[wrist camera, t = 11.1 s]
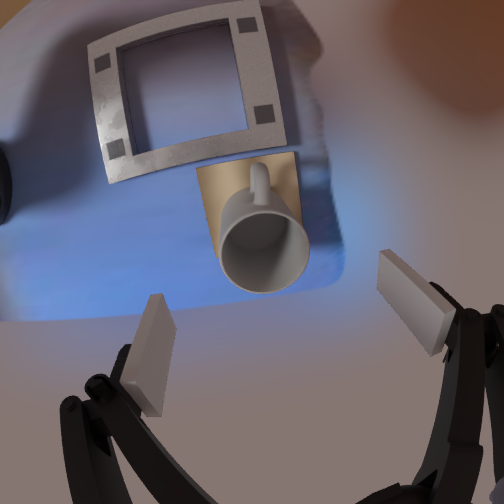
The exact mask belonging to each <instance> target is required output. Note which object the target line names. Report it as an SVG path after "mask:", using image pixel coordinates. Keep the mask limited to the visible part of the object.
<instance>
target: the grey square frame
mask: <svg viewBox="0 0 504 504" xmlns="http://www.w3.org/2000/svg"><path fill="white" fill-rule="evenodd" d="M222 24H228V25H229V30H230V35H231V40H232V45H233V50H234V55H235V61H236V66H237V71H238V77H239V82H240V88H241V93H242V99H243V104H244V110H245V115H246V121H247V127H248V130H241V131H236V132H230V133H225V134H219V135H214V136H209V137H205V138H200V139H196V140H191V141H187V142H183V143H179V144H175V145H171V146H167V147H163V148H159V149H156V150H152V151H149V152H145V153H142V154H138V153H137V148H136V143H135V138H134V133H133V128H132V123H131V117H130V111H129V106H128V99H127V93H126V86H125V79H124V72H123V63H122V54H121V51H124V50H127V49H129V48H132V47H135V46H138V45H141V44H144V43H147V42H150V41H153V40H156V39H160V38H163V37H167V36H170V35H174V34H178V33H182V32H186V31H191V30H195V29H200V28H205V27H211V26H216V25H222ZM87 48H88V63H89V74H90V83H91V92H92V99H93V106H94V113H95V119H96V125H97V131H98V136H99V141H100V146H101V151H102V155H103V160H104V164H105V169H106V173H107V177H108V181H109V184H112V183H115V182H118V181H122V180H125V179H128V178H132V177H135V176H139V175H142V174H146V173H149V172H153V171H157V170H161V169H164V168H168V167H172V166H177V165H181V164H185V163H189V162H194V161H198V160H203V159H208V158H212V157H217V156H222V155H228V154H233V153H239V152H244V151H250V150H256V149H263V148H270V147H277V146H284V145H287V142H286V136H285V130H284V123H283V117H282V111H281V106H280V100H279V94H278V89H277V83H276V78H275V73H274V68H273V63H272V58H271V53H270V48H269V43H268V39H267V34H266V29H265V25H264V21H263V16H262V12H261V8H260V4H259V0H244V1H235V2H227V3H220V4H214V5H208V6H203V7H198V8H193V9H188V10H184V11H180V12H176V13H172V14H168V15H164V16H161V17H157V18H154V19H151V20H148V21H145V22H142V23H139V24H136V25H133V26H130V27H127V28H125V29H122V30H120V31H117V32H115V33H112V34H110V35H107V36H105V37H103V38H101V39H98V40H96V41H94V42H92V43H90V44H88V45H87Z"/></svg>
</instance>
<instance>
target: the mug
mask: <svg viewBox="0 0 504 504" xmlns="http://www.w3.org/2000/svg"><path fill="white" fill-rule="evenodd" d="M309 255H310V244H309V239H308V236H307V234H306V231H305V229H304V228H303V226H302V225H301V223H300V222H299V221H298V219H297V218H296V217H295V215H294V214H293V213H292V212H291V210H290V209H289V208H288V206H287V205H286V204H285V202H284V201H283V199H282V198H281V197H280V196H279V195H278V194H277V193H275V192H274V191H272V190H270V175H269V170H268V167H267V166H266V165H265V164H264V163H262V162H255V163H253V164H252V165H251V169H250V187H247V188H244V189H241V190H239V191H237V192H236V193H234V194H233V195H232V196H231V197H230V198H229V199H228V200H227V202H226V203H225V205H224V207H223V210H222V214H221V227H220V238H219V262H220V265H221V268H222V270H223V272H224V274H225V275H226V277H227V278H228V279H229V280H230V281H231V282H232V283H233V284H234V285H236V286H237V287H238V288H240V289H242V290H245V291H248V292H251V293H257V294H267V293H273V292H277V291H280V290H282V289H284V288H286V287H288V286H290V285H291V284H292V283H294V282H295V281H296V280H297V279H298V278H299V277H300V276H301V274H302V273H303V271H304V270H305V268H306V266H307V263H308V260H309Z"/></svg>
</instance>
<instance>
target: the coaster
mask: <svg viewBox="0 0 504 504" xmlns="http://www.w3.org/2000/svg"><path fill="white" fill-rule="evenodd" d="M255 162H262V163H264V164H265V165H266V166H267V167H268V170H269V175H270V190H272V191H274V192H275V193H277V194H278V195H279V196H280V197H281V198H282V199H283V201H284V202H285V204H286V205H287V206H288V208H289V209H290V210H291V212H292V213H293V214H294V215H295V217H296V218H297V219H298V221H299V222H300V223H301V225H302V226H303V222H302V213H301V204H300V196H299V187H298V179H297V172H296V164H295V157H294V152H293V151H292V152H284V153H277V154H270V155H263V156H257V157H251V158H245V159H239V160H234V161H229V162H223V163H218V164H213V165H208V166H204V167H199V168H196V172H197V176H198V181H199V186H200V190H201V195H202V200H203V204H204V209H205V213H206V217H207V222H208V226H209V230H210V235H211V239H212V243H213V247H214V252H215V256H216V257H219V238H220V227H221V214H222V210H223V207H224V205H225V203H226V202H227V200H228V199H229V198H230V197H231V196H232V195H233V194H234V193H236V192H237V191H239V190H241V189H244V188H247V187H250V169H251V165H252V164H253V163H255Z"/></svg>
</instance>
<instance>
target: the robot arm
mask: <svg viewBox="0 0 504 504" xmlns="http://www.w3.org/2000/svg"><path fill="white" fill-rule="evenodd" d="M11 194H12V184H11V175H10V170H9V166H8V162H7V160H6V157H5V155H4V154H3V152H2V150H1V149H0V224H1V223H2V222H3V221H4V220H5V218H6V216H7V214H8V211H9V208H10V203H11ZM377 290H378V291H379V292H380V293H381V295H382V296H383V297H384V298H385V299H386V301H387V302H388V303H389V304H390V305H391V307H392V308H393V309H394V310H395V312H396V313H397V314H398V315H399V316H400V318H401V319H402V320H403V322H404V323H405V324H406V325H407V327H408V328H409V329H410V330H411V332H412V333H413V334H414V336H415V337H416V338H417V339H418V341H419V342H420V343H421V345H422V346H423V347H424V349H425V350H426V352H427V353H428V354H429V356H430V357H431V356H433V355H435V354H438V353H440V352H441V351H442V349H443V346H444V344H446V345H447V346H448V350H447V352H446V354H445V357H444V359H443V363H444V362H445V369H444V376H443V383H442V389H441V395H440V400H439V405H438V409H437V414H436V418H435V422H434V427H433V430H432V434H431V438H430V441H429V445H428V448H427V451H426V454H425V457H424V460H423V463H422V466H421V468H420V470H419V471H418V473H417V474H416V476H415V478H414V480H413V482H412V485H403V486H400V484H399V483H396V484H394V485H392V486H389V487H387V488H385V489H382V490H379V491H377V492H375V493H372V494H371V495H369V496H367V497H366V498H364V499H363V500H361V501H359V502H357V503H356V504H472V503H471V500H472V497H473V493H474V490H475V486H476V483H477V479H478V475H479V471H480V467H481V462H482V457H483V446H481V445H479V438H480V432H481V424H482V416H483V406H484V391H485V387H486V393H487V399H488V405H489V412H490V419H491V428H492V439H493V462H494V474H495V482H496V485H495V488H494V490H493V491H492V492H491V494H490V497H489V499H490V501H491V502H493V503H492V504H504V305H500V304H496V305H494V306H493V307H492V309H491V312H490V313H487V314H480V313H479V312H478V311H477V310H475V309H472V308H466V309H464V308H463V307H462V306H461V305H460V304H459V303H458V302H457V301H456V300H455V299H454V298H453V297H452V296H449V294H448V293H447V292H445V290H444V289H443V288H442V287H441V286H439V285H437V284H436V283H433V282H429V283H428V282H427V281H426V280H425V279H424V278H423V277H421V276H420V275H419V274H418V273H417V272H416V271H415V270H413V269H412V268H411V267H410V266H409V265H408V264H407V263H405V262H404V261H403V260H402V259H401V258H399V257H398V256H397V255H396V254H395V253H394V252H393V251H391V250H390V249H387V250H383V251H379V266H378V280H377ZM176 330H177V329H176V326H175V324H174V322H173V319H172V316H171V314H170V311H169V309H168V306H167V304H166V301H165V299H164V296H163V293H160V294H153V295H150V298H149V300H148V303H147V305H146V308H145V310H144V313H143V316H142V318H141V321H140V324H139V326H138V329H137V332H136V334H135V337H134V340H133V343H132V344H125V345H124V346H123V348H122V349H121V350H120V351H119V353H118V356H117V360H116V361H115V364H114V365H115V366H114V367H113V370H112V372H111V375H110V378H109V377H108V376H106V375H105V374H96V375H94V376H92V377H91V378H90V379H88V381H87V382H86V384H85V392H86V393H87V395H88V396H89V397H90V398H91V399H90V400H86V401H81V400H80V398H78V397H77V396H74V395H73V396H69V397H67V398H65V399H64V400H63V401H62V403H61V405H60V424H61V436H62V446H63V454H64V461H65V467H66V473H67V478H68V483H69V488H70V493H71V497H72V501H73V504H133V503H132V501H131V498H130V496H129V493H128V490H127V488H126V485H125V482H124V479H123V476H122V474H121V471H120V467H119V464H118V461H117V458H116V455H115V451H114V447H113V444H112V440H111V436H113V438H114V440H115V441H116V443H117V445H118V446H119V448H120V450H121V451H122V453H123V454H124V456H125V458H126V459H127V461H128V462H129V464H130V465H131V467H132V468H133V470H134V471H135V472H136V474H137V475H138V477H139V478H140V479H141V481H142V482H143V484H144V485H145V486H146V488H147V489H148V490H149V492H150V493H151V494H152V495H153V497H154V498H155V499H156V500H157V502H158V503H159V504H218V503H217V502H216V501H215V500H214V499H213V498H212V497H211V496H209V495H208V494H207V493H206V492H205V491H204V490H203V489H202V488H201V487H200V486H199V485H198V484H197V483H196V482H195V481H194V480H193V479H192V478H191V477H190V476H189V475H188V474H187V473H186V472H185V471H184V470H183V468H182V467H181V466H180V465H179V464H178V463H177V462H176V461H175V460H174V458H173V457H172V456H171V455H170V454H169V453H168V452H167V450H166V449H165V448H164V447H163V446H162V444H161V443H160V442H159V441H158V439H157V438H156V437H155V436H154V434H153V433H152V432H151V430H150V429H149V428H148V427H147V426H146V424H145V423H144V421H143V420H142V419H141V418H140V416H141V411H142V412H143V413H144V414H145V415H146V416H147V417H161V416H162V409H163V403H164V396H165V390H166V384H167V377H168V372H169V366H170V361H171V355H172V350H173V345H174V340H175V334H176ZM498 345H499V346H498ZM445 360H446V361H445Z"/></svg>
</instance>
